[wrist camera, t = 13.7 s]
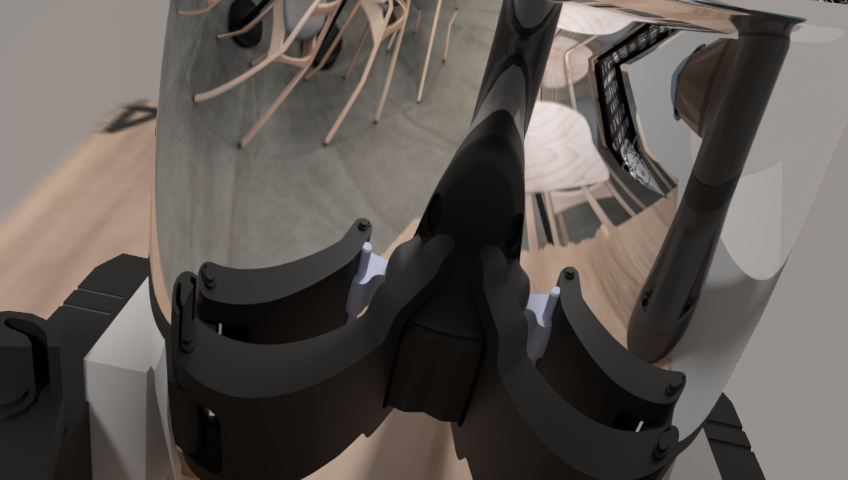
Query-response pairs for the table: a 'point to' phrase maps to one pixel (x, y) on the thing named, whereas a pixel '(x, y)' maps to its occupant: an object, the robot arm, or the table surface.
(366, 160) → the silver metal cup
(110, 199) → the table surface
